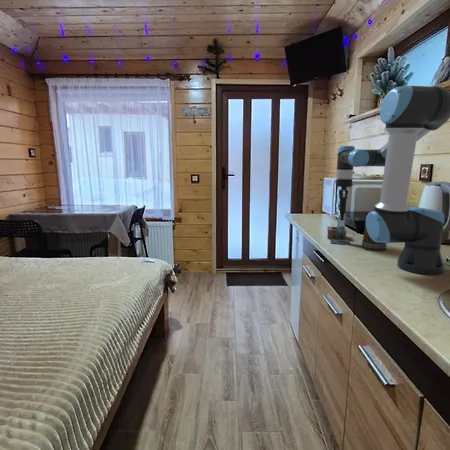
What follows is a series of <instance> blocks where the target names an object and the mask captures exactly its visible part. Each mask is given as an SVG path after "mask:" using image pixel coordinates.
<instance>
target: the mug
mask: <svg viewBox="0 0 450 450" xmlns="http://www.w3.org/2000/svg"><path fill="white" fill-rule="evenodd" d="M361 241H362V242H361V247H362V248H363V249H364V250H366V251H367V250H368V251H374V252H375V251H376V252H381V251H385V250H386V249H387V243H378V242H375V241H373V240H372V239H371V238H370V236H369V234H368V232H367V228H366V221H365V222H364V231H363V237H362V240H361Z"/></svg>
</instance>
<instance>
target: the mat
mask: <svg viewBox="0 0 450 450" xmlns="http://www.w3.org/2000/svg"><path fill="white" fill-rule="evenodd" d="M330 244H331V245H346V246H351V243H350V240H349V239H346V240H341V239H330Z"/></svg>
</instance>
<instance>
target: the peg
mask: <svg viewBox="0 0 450 450" xmlns="http://www.w3.org/2000/svg"><path fill="white" fill-rule="evenodd" d="M338 212H340V211H339V210H338V211H337V223H336V227H337V237H336V238H337V239H344V230H345V228H346V221H345V222H344V227H341V226H338V224H339V213H338ZM346 215H347V211H346V212H345V218H346Z"/></svg>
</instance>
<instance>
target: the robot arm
mask: <svg viewBox="0 0 450 450" xmlns="http://www.w3.org/2000/svg"><path fill="white" fill-rule="evenodd" d="M379 117H380V118H379V119H380V121H381V122H382V123H383V124H385V126H384V129H385V131H386V132H387V133H388V134H389V135H388V139H387V140H388V141H387V142H386V143H385V144H384V145H383V146H382V147H380V148H379V149H362V148H359V149H358V148H357V149H356V148H355V146H354V145H341V146H339V147H338V149H337V161H336V173H335V175H336V176H335V178H336V180H335V187H338V188H340V189H339V190H338V193H339V194H338V198H339V203H338V211H340V212H338V211H337V214H338V213H339V224H338V226H341V227H344V222H345V223H346V217H345V212H346V213H347V210H346V208H347V200H348V194H349V191H348V189H347V188H352V187H353V179H352V178H354V177H353V174H355V171H354V167H355V168H362V167H365V168H366V167H384V169H383V177H382V184H381V189H380V190H381V191H380V192H381V193H380V199H379V202H376V204H374V208H373V211H369V212H368V214H367V215H366V218H365V222H366V228H367V232H368V234H369V236H370V238H371V239H372V240H373V241H375V242H378V243H386V244H392V243H394V244H395V243H396V244H398V243H404V247H403V249H402V251H401V253H400V254H399V257H398V258H397V264H396V265H397V267H398V268H399V269H402V270H404V271H406V272H410V273H415V274H421V275H430V276H431V275H432V276H433V275H440V274H443V272H444V268H445V265H444V260H443V257H442V253H441V246H442V239H443V232H444V226H445V213H443V212H442V211H440V210H437V209H431V208H425V207H424V208H423V207H420V206H419V207H418V206H417V207H416V206H410V205H408V204H407V202H408V201H407V200H408V195H409V188H410V182H411V177H412V172H413V171H412V169H413V164H414V157H415V153H416V147H417V142H418V141H420V140H421V139H422V138H423V137H425V136H427V134H428V133H430V132H431V131H436V130H438V129H439V128H441V127H442V126H443V125H445V124H446V123H447V122H448V121H449V120H450V90H448V89H447V88H446V87H443V86H429V85H428V86H427V85H425V86H424V85H403V86H402V85H401V86H395V87H394V88H391V90H389V91H388V93H386V95H385V96H384V98H383V100H382V103H381V105H380V110H379Z"/></svg>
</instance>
